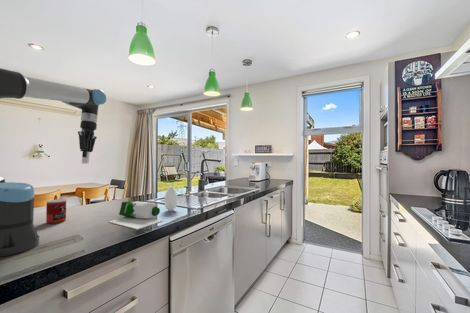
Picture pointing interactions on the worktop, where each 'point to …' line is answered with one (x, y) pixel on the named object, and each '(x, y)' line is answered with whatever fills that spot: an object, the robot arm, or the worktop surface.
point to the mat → (135, 222)
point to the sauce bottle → (170, 199)
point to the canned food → (56, 211)
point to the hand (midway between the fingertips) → (85, 163)
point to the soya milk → (139, 210)
